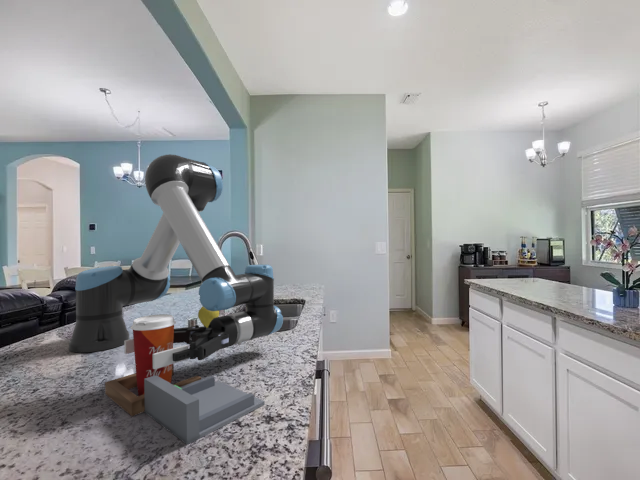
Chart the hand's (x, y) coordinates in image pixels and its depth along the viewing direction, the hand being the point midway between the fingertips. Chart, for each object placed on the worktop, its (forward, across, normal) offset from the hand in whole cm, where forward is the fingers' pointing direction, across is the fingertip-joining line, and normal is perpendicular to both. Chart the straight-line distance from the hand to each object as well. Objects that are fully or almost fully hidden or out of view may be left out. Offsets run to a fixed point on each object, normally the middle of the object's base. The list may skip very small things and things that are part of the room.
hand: (138, 354), depth 63 cm
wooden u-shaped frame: (-3, 0, -8) cm, 9 cm away
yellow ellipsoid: (-33, +29, -9) cm, 44 cm away
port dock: (-6, -15, -8) cm, 18 cm away
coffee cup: (-3, 0, -9) cm, 9 cm away
